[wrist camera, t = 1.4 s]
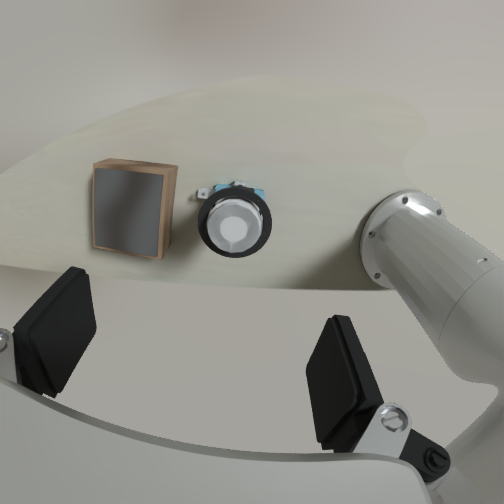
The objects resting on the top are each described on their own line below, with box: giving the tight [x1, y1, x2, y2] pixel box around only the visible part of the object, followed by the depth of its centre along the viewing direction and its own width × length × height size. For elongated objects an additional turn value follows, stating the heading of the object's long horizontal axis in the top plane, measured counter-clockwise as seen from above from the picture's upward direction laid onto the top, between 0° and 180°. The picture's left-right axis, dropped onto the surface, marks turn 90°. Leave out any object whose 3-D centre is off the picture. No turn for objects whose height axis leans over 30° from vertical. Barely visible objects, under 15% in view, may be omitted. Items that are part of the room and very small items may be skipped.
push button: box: [198, 180, 272, 258], centre depth 24 cm, size 7×5×10 cm
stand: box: [92, 158, 178, 260], centre depth 27 cm, size 8×9×4 cm
